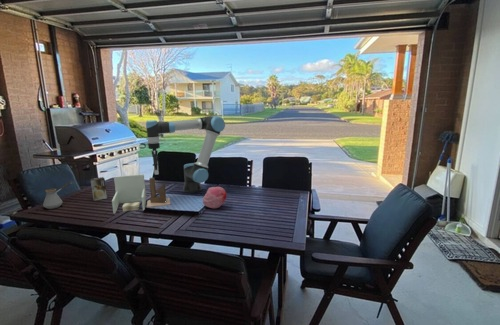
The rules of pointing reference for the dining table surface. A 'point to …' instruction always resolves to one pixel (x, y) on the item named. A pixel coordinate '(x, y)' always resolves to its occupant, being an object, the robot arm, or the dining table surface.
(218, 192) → the decorative rock
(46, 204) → the coffee pot
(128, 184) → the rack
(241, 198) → the dining table surface
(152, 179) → the wooden block
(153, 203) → the tile
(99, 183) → the coffee box
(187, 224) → the dining table surface
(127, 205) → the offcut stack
